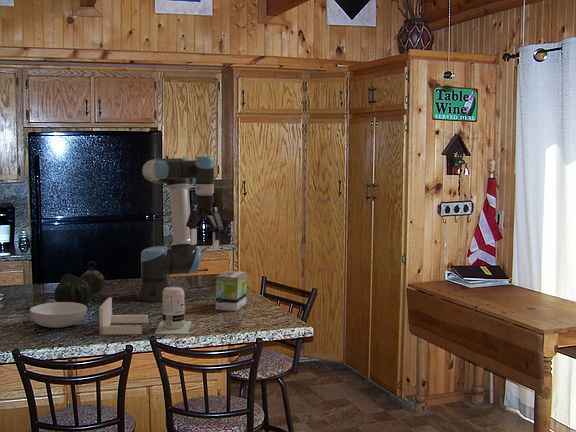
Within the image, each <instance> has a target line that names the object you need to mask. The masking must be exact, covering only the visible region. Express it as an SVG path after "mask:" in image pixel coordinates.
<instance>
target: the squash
mask: <svg viewBox="0 0 576 432" xmlns="http://www.w3.org/2000/svg"><path fill="white" fill-rule="evenodd" d="M53 296H54V300H55V302H72V303H79V304H83V305H85V306H86V305H88V304H89V303H90V301H91V300H92V295H91V289H90V287H89V285H88V284H87V282H86V281H84V280H83V279H81V278H80V277H78V276H76V275H73V274H68V273H65V274H64V275H63V276H62V278H61V280H60V281H59V283H58V284H57V286H56V288H55V290H54V295H53Z"/></svg>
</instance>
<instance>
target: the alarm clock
mask: <svg viewBox="0 0 576 432" xmlns="http://www.w3.org/2000/svg"><path fill="white" fill-rule="evenodd" d="M90 263H91V261H89V262H88V263H87V267H88V268H89V270H87V271H85V272H84V273H83V274H81V276H80V277H79V278H81V279H83V280H84V281H86V282H87V284H88V285H89V287H90V289H91V296H94V295H97V294H98V295H100V297H102V296H103V295H102V293H101V291H102V290H103V289H104V288H105V283H106V282H105V281H106V280H105V277H104V275H103V274H102V273H101V271H98V270H96V269H94V268H95V266H96V263H95V262H94V261H92V263H93V265H94V267H90V266H89V264H90Z"/></svg>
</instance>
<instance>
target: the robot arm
mask: <svg viewBox="0 0 576 432" xmlns="http://www.w3.org/2000/svg"><path fill="white" fill-rule="evenodd" d="M141 174H142V177H144V179H145V180H146V181H148V182H151V183H154V184H166V189H168V190H169V193H170V207H171V209H170V210H171V222H172V238H173V239H172V240H173V241H172V243H171V244H170V248H169V249H168V247H167V246H166V245H155V246H151V247H146V248H145V249H143V250H142V251H141V254H140V255H141V256H140V265H141V268H140V269H141V270H140V273H141V275H140V277H141V278H140V279H141V282H140V285H139V289H138V292H137V300H139V301H144V302H163V291H164V288H166V287H170V286H169V282H168V275H185V274H186V275H188V274H194V273H197V272H198V270H199V268H200V264H201V250H200V248H199V247H197V243H198V239H197V238H198V232H197V231H198V228H197V226H198V224H199V223H200V221H201V219H202V218H205V219H207V220H208V221H209V223H210V226H211V227H212V230H213V232H212V249H219V248H220V240H221V232H223V231H225V229H224V225H223V222H222V219H221V216H220V212H219V206H216V207H215V206H213V205H214V204H215V196H214V193H215V159H214V157H213V156H207V155H206V156H205V155H204V156H202V155H200V156H199V155H198V156H196V157H195V159H194V160H193V159H192V160H190V159H188V158H182V157H180V158H178V157H177V158H176V157H175V158H174V157H173V158H171V157H170V158H158V157H157V158H154V159H150V160H148V161H146V162H145V163H144V164H143V165H142V168H141ZM194 183H195V194H196V195H194V196H195V197H194V198H195V200H194V202H195V205H194V204H193V205H191V204H190V203H191V201H190V189H191V188H192V187H193V186H192V185H193V184H194Z"/></svg>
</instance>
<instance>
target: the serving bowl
mask: <svg viewBox="0 0 576 432" xmlns="http://www.w3.org/2000/svg"><path fill="white" fill-rule="evenodd" d="M87 309H88V307H87V306H86V305H83V304H79V303H72V302H56V301H55V302H49V303H41V304H37V305H35V306H32V307H31V308H30V309H29V314H30V317H31V319H32V320H33V321H34V323H36V324H37V325H39V326H42V327H46V328H50V329H62V328H67V327H71V326H74V325H77V324H78V323H80V322H81V321H83V319H84V318H85V316H86V314H87Z"/></svg>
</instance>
